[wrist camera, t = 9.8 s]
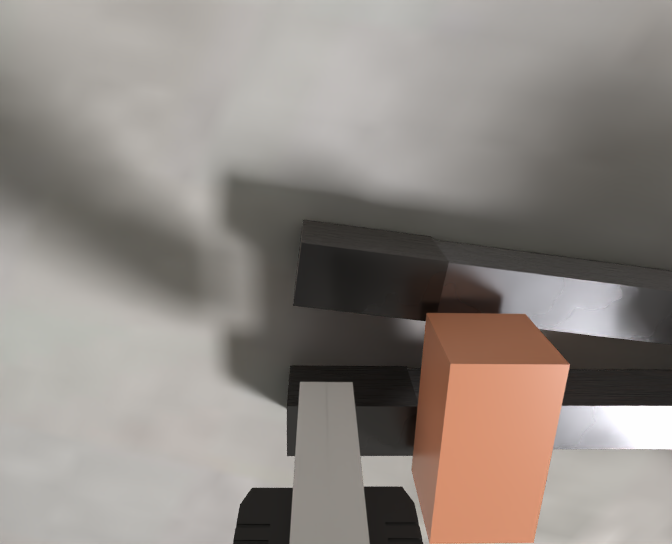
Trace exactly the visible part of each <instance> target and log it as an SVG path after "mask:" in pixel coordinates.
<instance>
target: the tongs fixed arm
mask: <svg viewBox="0 0 672 544" xmlns="http://www.w3.org/2000/svg"><path fill="white" fill-rule="evenodd" d="M420 376H421V369H407V367H402V366H290V375H289V387H288V399H287V456H295V451H296V435H297V420H298V404H299V389H300V382H353V391H354V401H355V410H356V420H357V429H358V438H359V448H360V456H413V450H414V439H415V429H416V418H417V408H418V397H419V387H420ZM553 449H672V370H569V372H568V377H567V382H566V387H565V392H564V397H563V401H562V406H561V411H560V416H559V421H558V426H557V431H556V436H555V440H554V445H553Z"/></svg>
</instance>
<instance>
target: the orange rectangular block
mask: <svg viewBox="0 0 672 544" xmlns="http://www.w3.org/2000/svg"><path fill="white" fill-rule="evenodd" d="M569 367H570V364H569V363H568V362H567V361H566V359H565V358H564V357H563V356H562V355H561V354H560V353H559V351H558V350H557V349H556V348H555V347H554V346H553V345H552V344H551V342H550V341H549V340H548V339H547V338H546V337H545V336H544V335H543V333H542V332H541V331H540V330H539V329H538V328H537V327H536V325H535V324H534V323H533V322H532V321H531V320H530V319H529V318H528V316H527V315H526V314H491V313H426V324H425V334H424V345H423V355H422V366H421V376H420V387H419V397H418V408H417V418H416V429H415V439H414V450H413V460H412V474H413V478H414V482H415V486H416V490H417V494H418V498H419V502H420V506H421V510H422V515H423V519H424V523H425V527H426V531H427V535H428V539H429V543H430V544H438V543H534V538H535V533H536V528H537V523H538V518H539V514H540V509H541V504H542V499H543V494H544V489H545V484H546V479H547V475H548V470H549V465H550V460H551V455H552V450H553V445H554V440H555V436H556V431H557V426H558V421H559V416H560V411H561V406H562V401H563V397H564V392H565V387H566V382H567V377H568V372H569Z"/></svg>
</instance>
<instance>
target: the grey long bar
mask: <svg viewBox="0 0 672 544" xmlns="http://www.w3.org/2000/svg"><path fill="white" fill-rule="evenodd" d="M293 306H302V307H310V308H319V309H327V310H336V311H344V312H353V313H361V314H370V315H378V316H387V317H395V318H404V319H412V320H421V321H426V313H491V314H526V315H527V316H528V318H529V319H530V320H531V321H532V322H533V323H534V324H535V325H536V327H537V328H538V329H544V330H552V331H561V332H569V333H577V334H586V335H594V336H603V337H611V338H620V339H628V340H636V341H645V342H653V343H662V344H670V345H672V271H667V270H659V269H652V268H644V267H636V266H629V265H621V264H614V263H606V262H598V261H591V260H583V259H575V258H568V257H560V256H553V255H545V254H537V253H530V252H522V251H514V250H507V249H499V248H492V247H484V246H476V245H469V244H461V243H454V242H446V241H438V240H433V239H432V237H430V236H422V235H414V234H407V233H399V232H392V231H384V230H376V229H369V228H361V227H354V226H346V225H338V224H331V223H323V222H316V221H308V220H303V226H302V234H301V241H300V249H299V257H298V265H297V272H296V282H295V293H294V304H293Z"/></svg>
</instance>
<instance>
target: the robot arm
mask: <svg viewBox="0 0 672 544" xmlns="http://www.w3.org/2000/svg"><path fill="white" fill-rule="evenodd" d="M233 544H423V542H422V536H421V531H420V527H419V524H418V518H417V513H416V509H415V504H414V502H413V501H412V500H411V498H410V497H409V495H408V494H407V493H406V491H405V490H404V489H403V487H364V485H363V476H362V467H361V457H360V448H359V438H358V429H357V420H356V410H355V401H354V391H353V382H300V389H299V404H298V420H297V435H296V451H295V466H294V481H293V488H252V489H251V490H250V492H249V493H248V494H247V496H246V497H245V498H244V500H243V501H242V503H241V504H240V508H239V513H238V519H237V525H236V529H235V535H234V542H233Z"/></svg>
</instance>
